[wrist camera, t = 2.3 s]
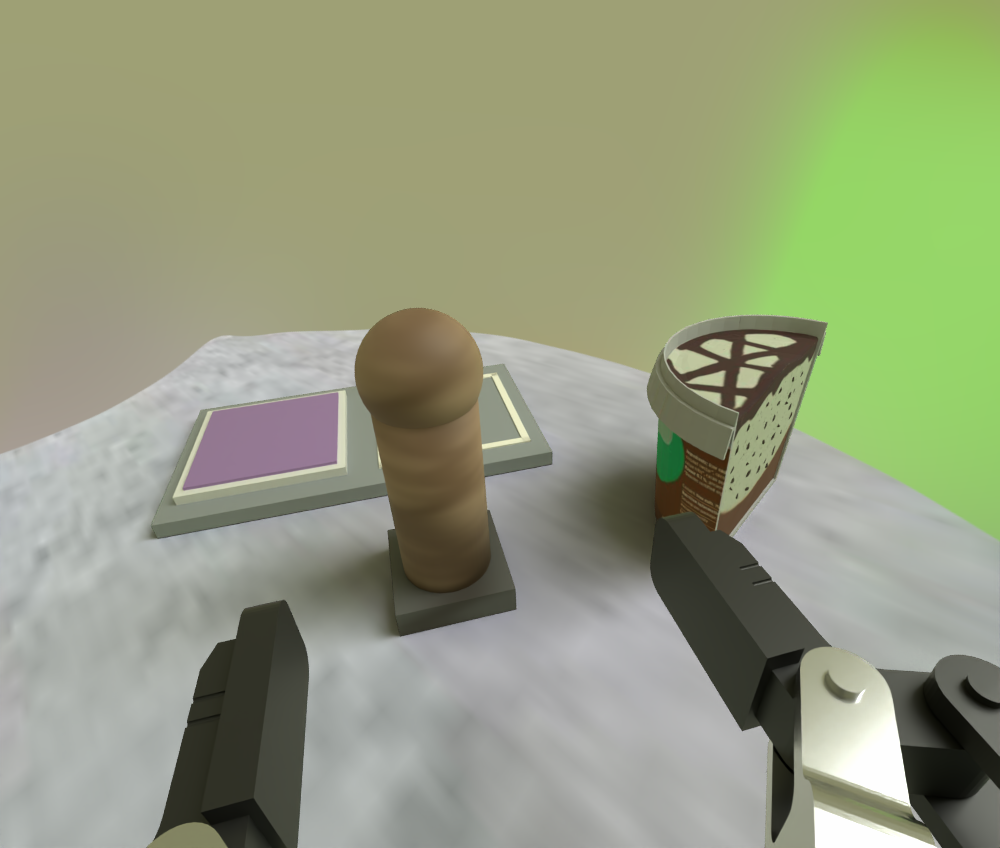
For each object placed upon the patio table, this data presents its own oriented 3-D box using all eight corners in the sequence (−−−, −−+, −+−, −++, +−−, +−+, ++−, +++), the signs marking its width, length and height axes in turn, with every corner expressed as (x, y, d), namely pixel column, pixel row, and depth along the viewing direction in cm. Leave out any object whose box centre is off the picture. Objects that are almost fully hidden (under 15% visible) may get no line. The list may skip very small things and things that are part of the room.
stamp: (400, 636, 25) (331, 356, 17) (391, 549, 30) (334, 297, 22) (516, 609, 26) (502, 331, 18) (490, 529, 31) (471, 280, 23)
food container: (692, 433, 38) (718, 295, 32) (784, 468, 34) (831, 319, 28) (590, 530, 30) (600, 372, 25) (693, 588, 27) (732, 418, 21)
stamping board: (157, 538, 31) (144, 515, 30) (205, 421, 42) (196, 401, 41) (552, 463, 35) (552, 441, 34) (504, 374, 46) (503, 355, 45)
